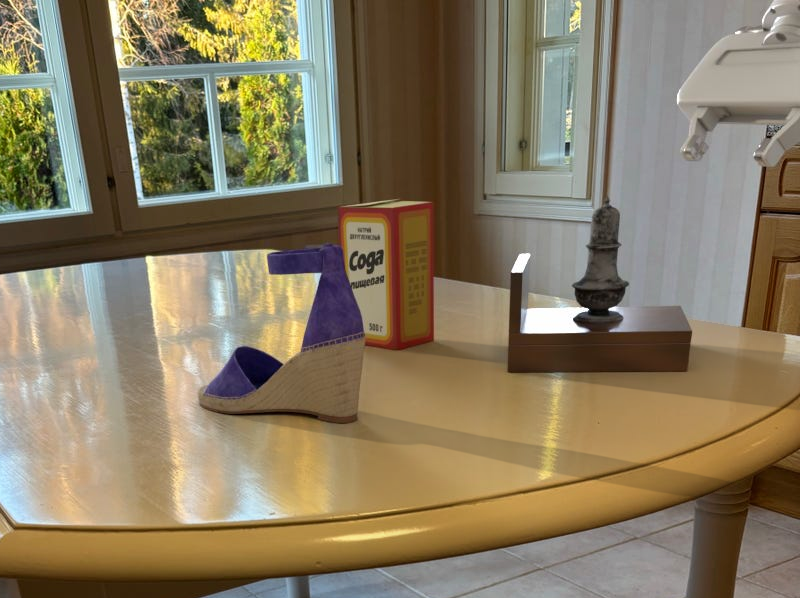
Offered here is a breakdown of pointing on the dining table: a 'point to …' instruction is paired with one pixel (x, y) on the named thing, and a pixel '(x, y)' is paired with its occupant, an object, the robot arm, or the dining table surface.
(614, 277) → the salt shaker
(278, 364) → the sandal
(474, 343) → the dining table surface
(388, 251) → the baking soda box
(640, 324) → the wooden bookend
